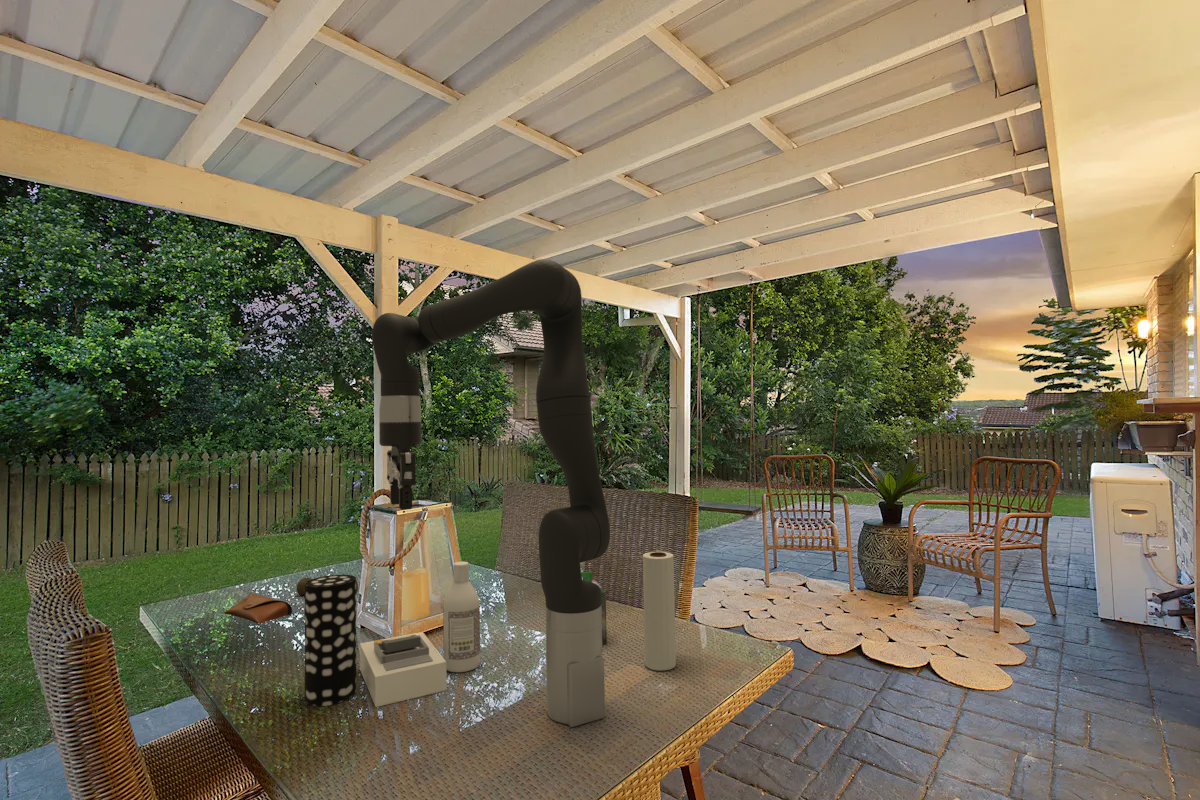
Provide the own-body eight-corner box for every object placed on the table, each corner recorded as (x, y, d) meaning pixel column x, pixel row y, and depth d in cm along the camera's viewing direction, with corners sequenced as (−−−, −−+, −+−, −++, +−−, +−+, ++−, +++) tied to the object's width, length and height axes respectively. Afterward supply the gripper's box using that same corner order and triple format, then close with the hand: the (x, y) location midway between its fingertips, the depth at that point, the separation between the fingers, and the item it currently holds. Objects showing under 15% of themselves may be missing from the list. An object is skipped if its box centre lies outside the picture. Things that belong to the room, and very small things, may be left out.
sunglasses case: (219, 612, 154) (233, 586, 157) (243, 620, 159) (256, 594, 162) (259, 624, 145) (273, 596, 148) (283, 631, 150) (296, 604, 153)
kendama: (318, 592, 174) (368, 598, 165) (288, 602, 165) (339, 609, 156) (317, 571, 174) (367, 576, 165) (287, 580, 165) (338, 586, 156)
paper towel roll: (665, 674, 112) (663, 558, 113) (638, 666, 116) (636, 555, 116) (684, 661, 118) (682, 551, 118) (658, 654, 121) (656, 548, 122)
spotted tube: (300, 709, 101) (300, 588, 101) (310, 688, 109) (309, 576, 109) (353, 702, 103) (352, 584, 104) (359, 682, 111) (358, 573, 112)
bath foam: (486, 666, 117) (485, 563, 118) (453, 676, 113) (452, 569, 113) (470, 656, 122) (469, 557, 123) (437, 665, 118) (437, 562, 119)
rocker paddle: (420, 646, 111) (420, 636, 112) (386, 652, 108) (386, 643, 109) (414, 643, 115) (414, 634, 116) (382, 649, 112) (381, 640, 113)
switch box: (446, 690, 107) (446, 654, 107) (375, 707, 101) (375, 669, 101) (422, 656, 123) (422, 625, 123) (360, 669, 117) (359, 637, 117)
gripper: (429, 419, 109) (430, 509, 109) (412, 420, 122) (413, 500, 121) (386, 420, 106) (386, 513, 105) (373, 421, 118) (373, 504, 117)
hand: (400, 506), depth 113 cm, fingers open, 8 cm apart
